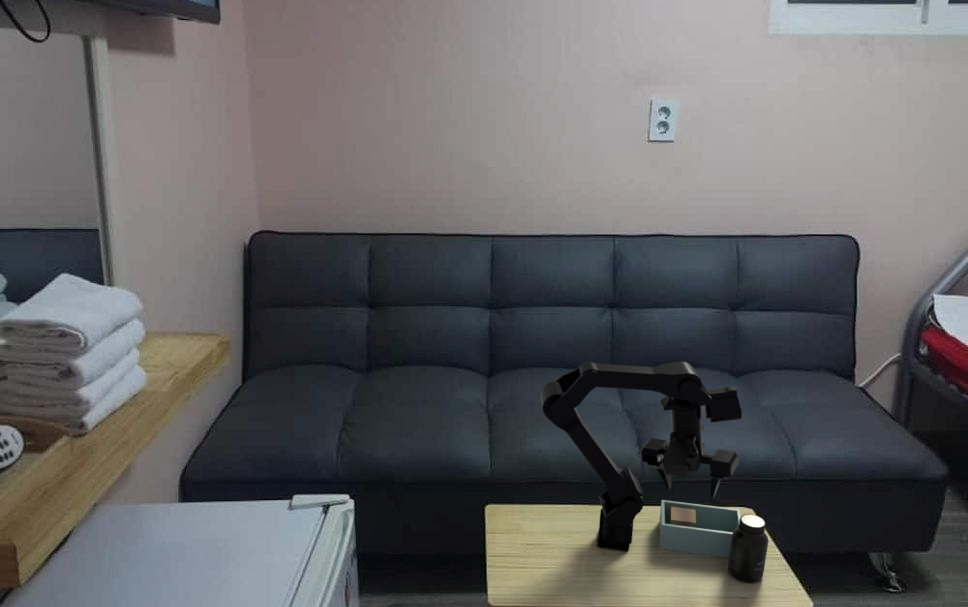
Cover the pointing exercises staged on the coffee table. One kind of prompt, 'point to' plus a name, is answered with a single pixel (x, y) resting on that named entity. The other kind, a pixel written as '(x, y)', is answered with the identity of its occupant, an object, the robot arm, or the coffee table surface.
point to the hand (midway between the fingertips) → (690, 493)
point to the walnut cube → (683, 517)
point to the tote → (699, 529)
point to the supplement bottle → (748, 549)
